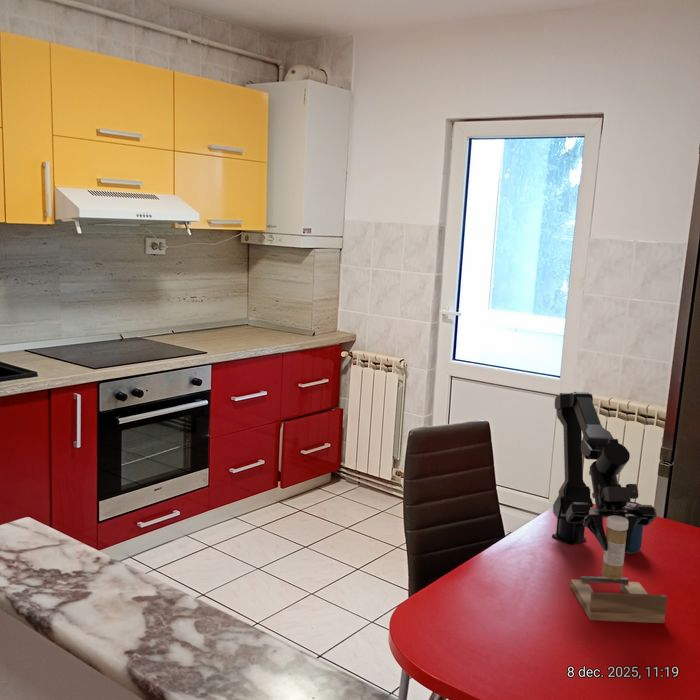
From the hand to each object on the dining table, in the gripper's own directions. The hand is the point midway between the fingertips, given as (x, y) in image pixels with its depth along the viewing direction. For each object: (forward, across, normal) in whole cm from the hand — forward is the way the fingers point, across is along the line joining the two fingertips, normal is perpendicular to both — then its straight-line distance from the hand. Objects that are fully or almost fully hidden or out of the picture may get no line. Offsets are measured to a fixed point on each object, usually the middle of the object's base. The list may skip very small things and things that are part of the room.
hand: (616, 550), depth 165 cm
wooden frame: (+9, 0, +7) cm, 12 cm away
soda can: (-12, +14, +29) cm, 34 cm away
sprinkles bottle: (+4, 0, +6) cm, 7 cm away
